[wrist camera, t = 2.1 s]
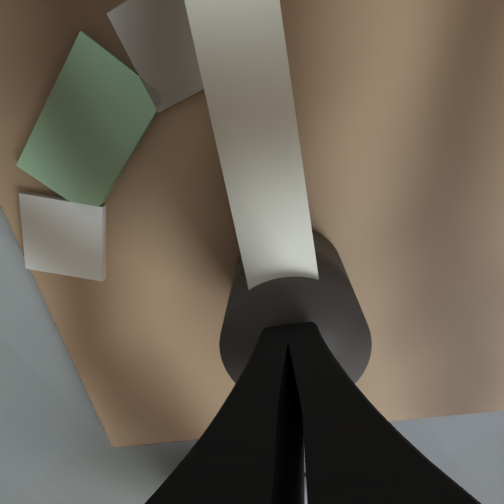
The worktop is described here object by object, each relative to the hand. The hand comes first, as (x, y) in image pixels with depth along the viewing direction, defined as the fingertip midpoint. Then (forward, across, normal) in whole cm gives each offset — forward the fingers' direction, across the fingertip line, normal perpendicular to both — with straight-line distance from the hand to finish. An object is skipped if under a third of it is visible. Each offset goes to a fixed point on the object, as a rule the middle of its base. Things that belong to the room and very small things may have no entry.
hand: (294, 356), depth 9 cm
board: (+6, 0, -2) cm, 6 cm away
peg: (+5, 0, -5) cm, 7 cm away
